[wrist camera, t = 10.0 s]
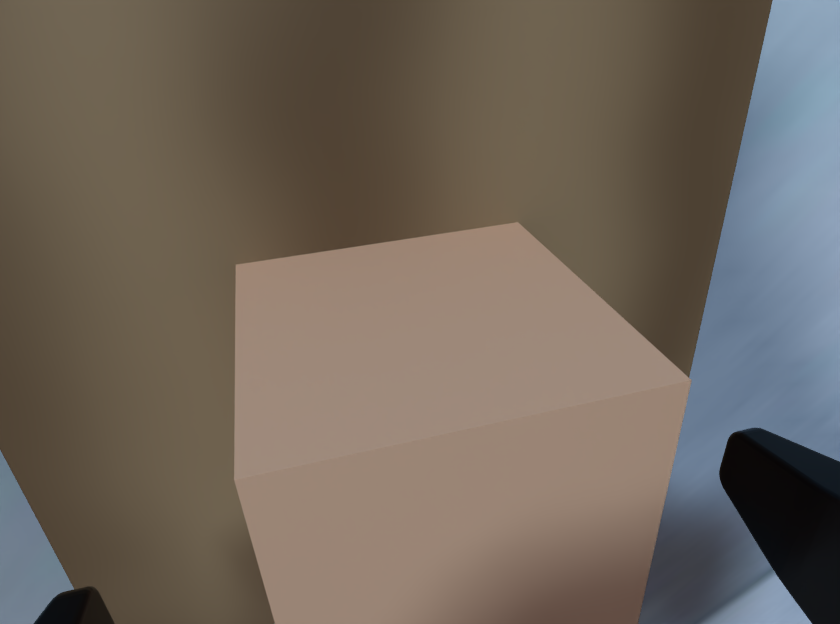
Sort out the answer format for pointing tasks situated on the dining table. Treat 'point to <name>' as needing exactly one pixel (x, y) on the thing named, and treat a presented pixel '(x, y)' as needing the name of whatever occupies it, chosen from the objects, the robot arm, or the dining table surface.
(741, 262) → the dining table surface
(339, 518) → the terracotta cube
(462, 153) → the walnut base
